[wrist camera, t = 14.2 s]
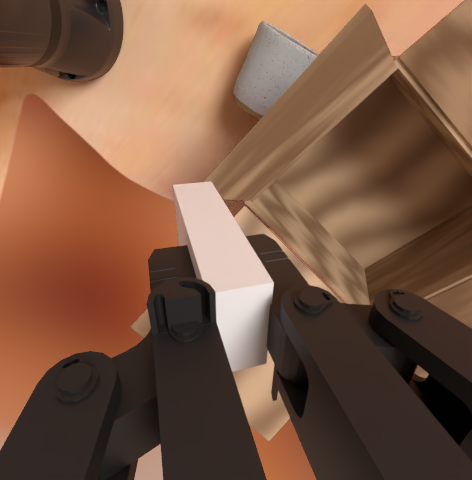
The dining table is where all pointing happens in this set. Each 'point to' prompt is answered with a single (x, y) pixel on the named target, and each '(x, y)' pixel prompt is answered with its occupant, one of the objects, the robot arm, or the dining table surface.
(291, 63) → the ceramic mug
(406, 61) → the shipping carton
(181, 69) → the dining table surface
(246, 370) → the carton flap
